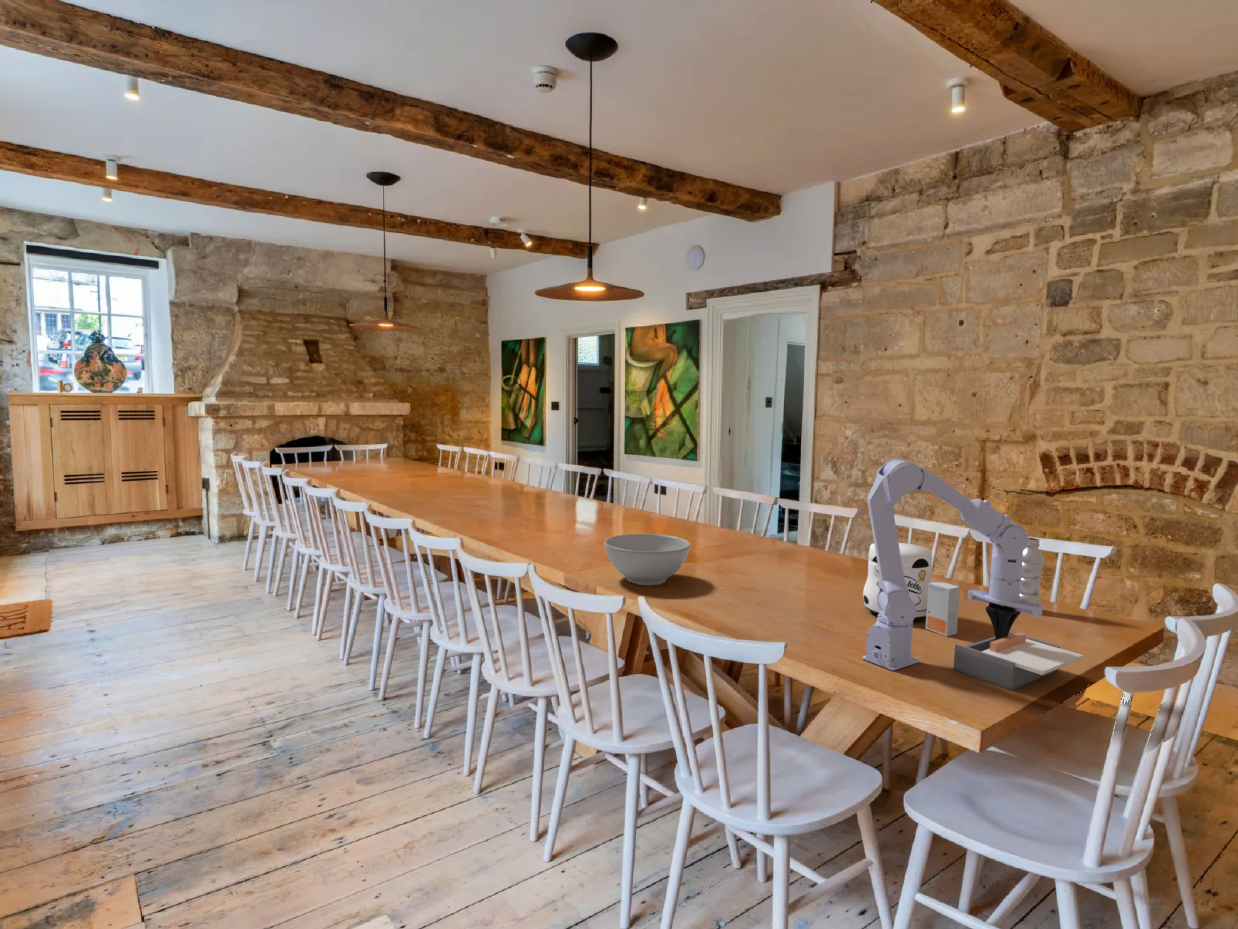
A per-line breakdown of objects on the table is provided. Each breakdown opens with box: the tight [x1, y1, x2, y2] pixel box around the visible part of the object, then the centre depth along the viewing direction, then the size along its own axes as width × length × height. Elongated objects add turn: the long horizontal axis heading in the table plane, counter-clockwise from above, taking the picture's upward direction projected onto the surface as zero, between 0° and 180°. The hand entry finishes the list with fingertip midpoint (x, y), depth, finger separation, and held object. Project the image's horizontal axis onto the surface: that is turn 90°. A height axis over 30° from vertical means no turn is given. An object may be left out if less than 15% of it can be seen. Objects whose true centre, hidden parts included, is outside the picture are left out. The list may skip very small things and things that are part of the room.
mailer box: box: [953, 630, 1061, 692], centre depth 144 cm, size 19×12×6 cm, turn 123°
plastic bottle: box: [1020, 537, 1045, 606], centre depth 187 cm, size 6×7×20 cm
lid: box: [981, 632, 1084, 675], centre depth 140 cm, size 17×12×2 cm
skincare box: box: [925, 580, 961, 637], centre depth 168 cm, size 6×4×12 cm
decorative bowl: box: [603, 533, 691, 586], centre depth 211 cm, size 27×27×12 cm
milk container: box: [862, 542, 933, 620], centre depth 181 cm, size 17×17×18 cm
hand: (1001, 640), depth 145 cm, fingers closed
